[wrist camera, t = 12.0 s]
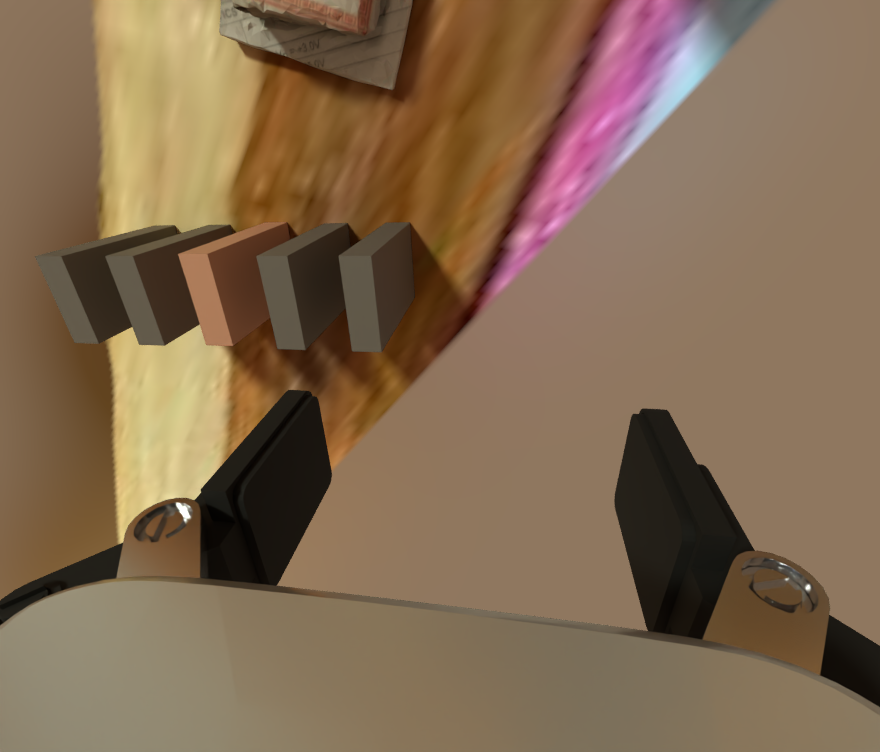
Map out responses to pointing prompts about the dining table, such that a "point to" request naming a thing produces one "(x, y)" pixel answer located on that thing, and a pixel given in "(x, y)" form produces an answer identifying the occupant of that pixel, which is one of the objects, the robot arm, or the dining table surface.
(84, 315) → the domino
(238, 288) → the domino
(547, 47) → the dining table surface
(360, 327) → the domino
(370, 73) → the packaged product
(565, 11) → the dining table surface
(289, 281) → the domino
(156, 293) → the domino
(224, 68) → the dining table surface
